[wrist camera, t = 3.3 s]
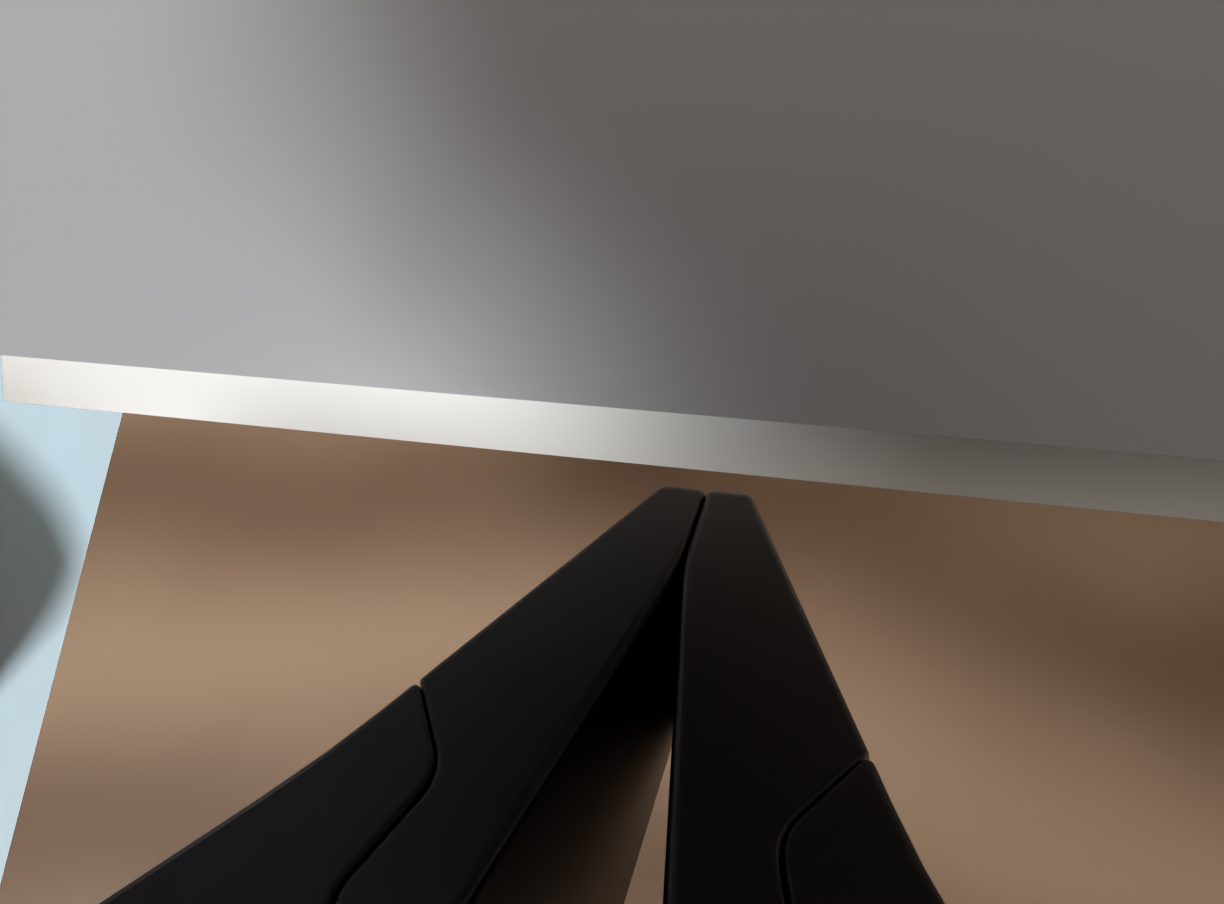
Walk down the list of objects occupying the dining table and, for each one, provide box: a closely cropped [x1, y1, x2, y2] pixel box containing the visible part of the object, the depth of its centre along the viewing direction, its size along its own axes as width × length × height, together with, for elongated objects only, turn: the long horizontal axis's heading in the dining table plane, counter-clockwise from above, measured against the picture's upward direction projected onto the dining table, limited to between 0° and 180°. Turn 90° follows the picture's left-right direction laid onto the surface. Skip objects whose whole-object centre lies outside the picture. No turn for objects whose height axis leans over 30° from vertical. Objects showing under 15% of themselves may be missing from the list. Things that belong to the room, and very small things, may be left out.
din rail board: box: [0, 413, 1224, 904], centre depth 14 cm, size 18×26×4 cm
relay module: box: [0, 0, 1224, 522], centre depth 9 cm, size 6×7×12 cm
